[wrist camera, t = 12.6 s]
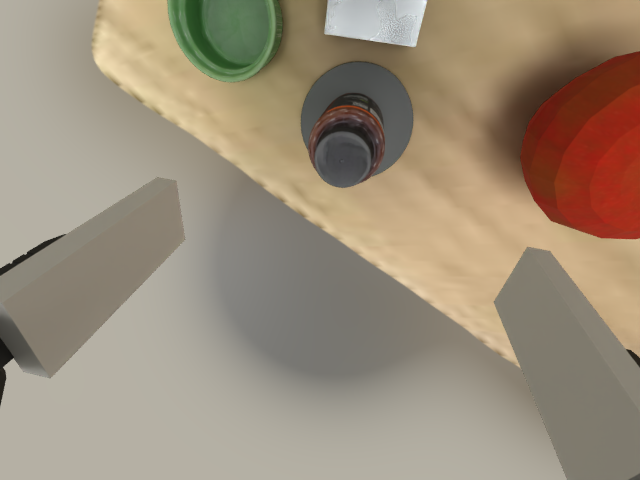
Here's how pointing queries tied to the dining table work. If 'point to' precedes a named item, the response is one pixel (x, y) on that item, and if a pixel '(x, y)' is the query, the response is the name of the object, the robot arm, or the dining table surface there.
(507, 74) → the dining table surface
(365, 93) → the coaster
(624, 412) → the robot arm
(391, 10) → the vise
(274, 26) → the ramekin
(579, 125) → the apple
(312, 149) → the supplement bottle
